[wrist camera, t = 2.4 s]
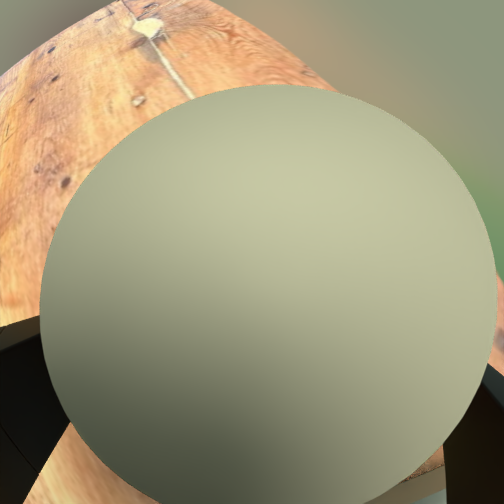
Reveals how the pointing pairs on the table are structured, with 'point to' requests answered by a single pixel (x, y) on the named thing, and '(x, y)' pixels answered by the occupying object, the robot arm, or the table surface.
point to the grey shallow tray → (417, 490)
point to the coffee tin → (268, 301)
